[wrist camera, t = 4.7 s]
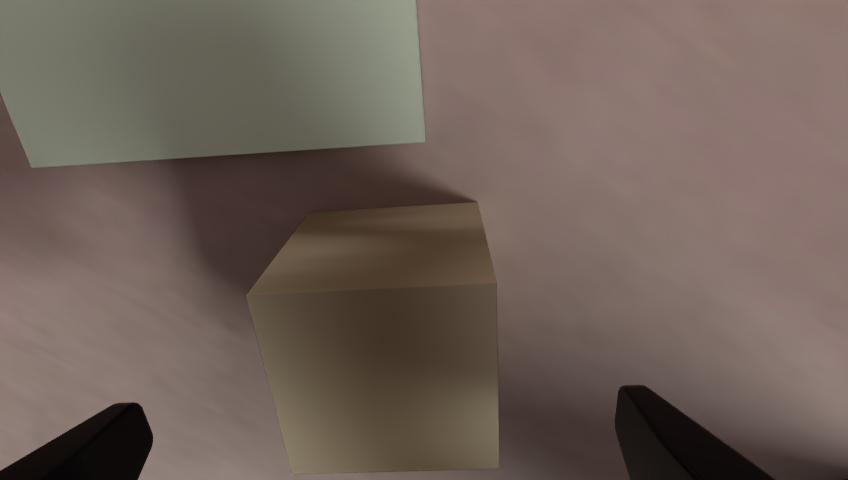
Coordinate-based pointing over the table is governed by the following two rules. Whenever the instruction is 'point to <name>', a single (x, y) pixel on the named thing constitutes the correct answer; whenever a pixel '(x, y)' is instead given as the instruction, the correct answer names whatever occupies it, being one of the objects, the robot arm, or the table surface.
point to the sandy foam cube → (383, 340)
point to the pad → (207, 77)
